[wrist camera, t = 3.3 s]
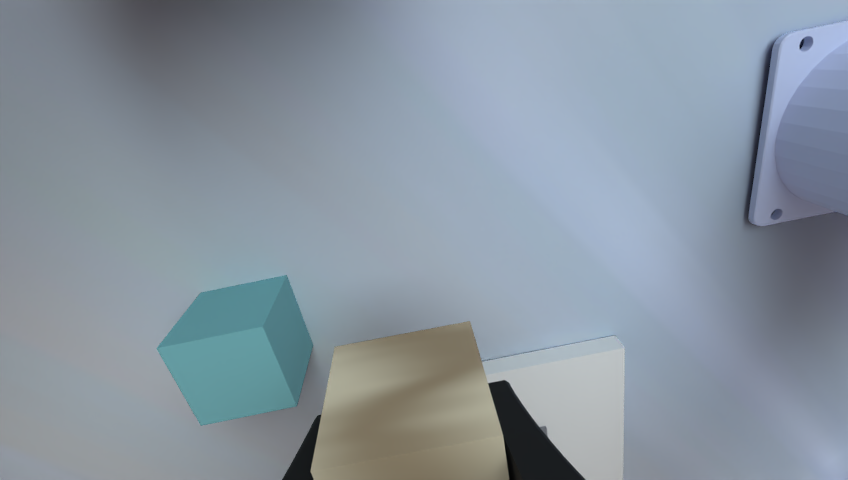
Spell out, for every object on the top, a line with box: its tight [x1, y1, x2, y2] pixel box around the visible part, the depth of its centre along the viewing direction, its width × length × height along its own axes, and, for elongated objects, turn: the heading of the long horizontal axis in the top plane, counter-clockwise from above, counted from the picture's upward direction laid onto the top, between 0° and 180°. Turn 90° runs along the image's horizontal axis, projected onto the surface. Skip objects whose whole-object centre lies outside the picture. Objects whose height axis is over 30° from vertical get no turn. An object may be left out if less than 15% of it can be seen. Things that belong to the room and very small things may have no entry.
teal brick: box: [157, 275, 313, 426], centre depth 18 cm, size 4×4×4 cm
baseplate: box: [482, 336, 625, 480], centre depth 24 cm, size 14×14×1 cm
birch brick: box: [310, 321, 509, 480], centre depth 11 cm, size 4×4×4 cm
